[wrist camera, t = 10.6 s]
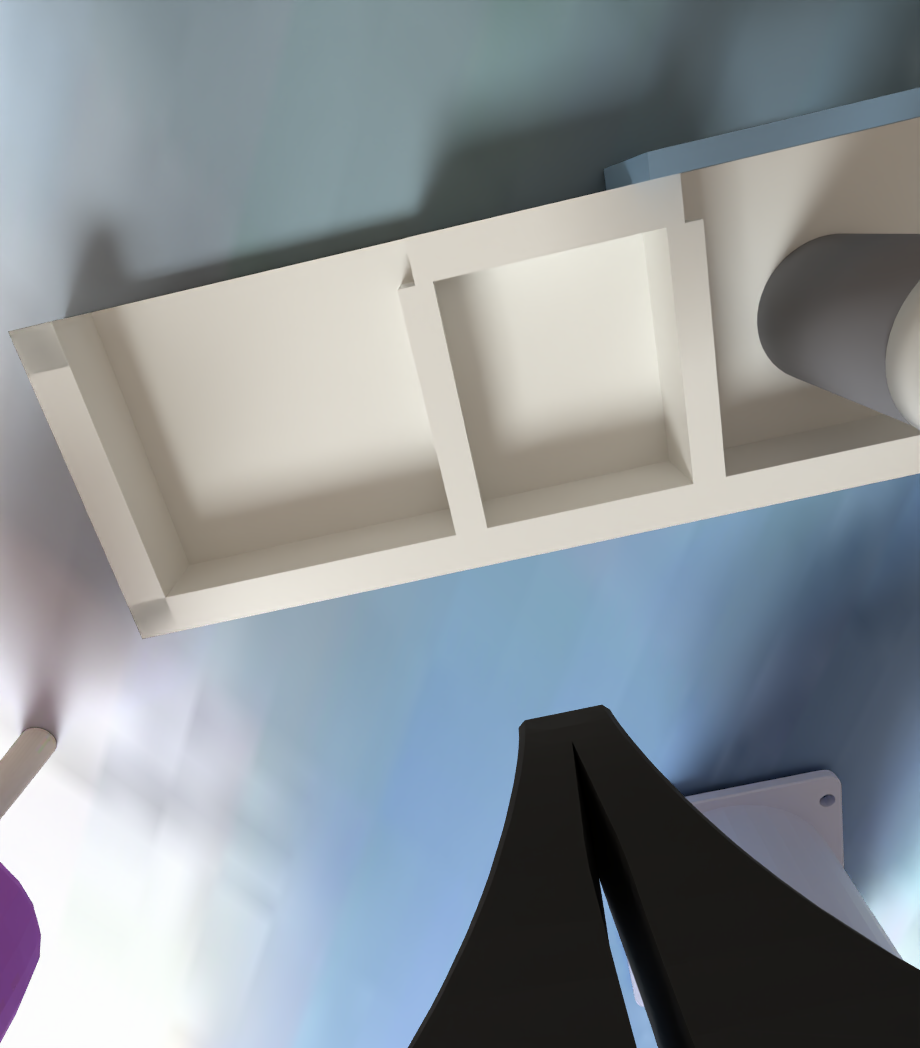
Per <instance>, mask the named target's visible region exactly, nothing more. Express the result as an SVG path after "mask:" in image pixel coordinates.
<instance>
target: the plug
mask: <svg viewBox="0 0 920 1048" xmlns="http://www.w3.org/2000/svg"><path fill="white" fill-rule="evenodd" d="M757 328H758V335H759V339H760V342H761V345H762V348H763V350H764V352H765V353H766V355H767V357H768V358H769V359H770V360H771V362H772V363H773V364H774V365H775V366H776V367H777V368H778V369H780V370H781V371H783V372H784V373H786V374H788V375H790V376H792V377H795V378H797V379H799V380H802V381H804V382H807V383H809V384H812V385H814V386H817V387H819V388H821V389H824V390H826V391H829V392H831V393H834V394H836V395H838V396H841V397H843V398H846V399H848V400H851V401H853V402H856V403H858V404H860V405H863V406H865V407H868V408H870V409H873V410H875V411H877V412H880V413H882V414H885V415H887V416H890V417H892V418H895V419H897V420H899V421H902V422H904V423H907V424H909V425H912V426H914V427H915V428H917V429H918V430H919V431H920V234H830V235H825V236H821V237H818V238H816V239H813V240H811V241H808V242H807V243H805V244H803V245H801V246H799V247H798V248H797V249H795V250H794V251H792V252H791V253H790V254H789V255H788V256H787V257H786V258H784V259H783V261H782V262H781V263H780V264H779V265H778V266H777V267H776V269H775V270H774V272H773V273H772V274H771V276H770V278H769V279H768V281H767V283H766V285H765V287H764V290H763V292H762V295H761V298H760V302H759V306H758V312H757Z"/></svg>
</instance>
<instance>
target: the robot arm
mask: <svg viewBox="0 0 920 1048" xmlns="http://www.w3.org/2000/svg"><path fill="white" fill-rule="evenodd" d="M827 794H828V795H827ZM825 795H827V796H826V797H824V798H822V797H823V796H825ZM599 879H600V881H599ZM600 882H601V885H602V888H603V891H604V893H605V896H606V899H607V902H608V905H609V908H610V911H611V913H612V916H613V919H614V922H615V925H616V928H617V930H618V933H619V936H620V939H621V942H622V945H623V947H624V950H625V953H626V956H627V961H628V966H629V971H630V976H631V982H632V987H633V992H634V996H635V1000H636V1002H637V1004H639V1005H640V1006H642V1007H645V1010H646V1012H647V1015H648V1018H649V1021H650V1024H651V1027H652V1030H653V1033H654V1036H655V1039H656V1043H657V1046H658V1048H920V970H919V969H917V968H915V967H914V966H912V965H910V964H908V963H907V962H905V961H903V959H902V958H901V956H900V955H899V953H898V952H897V950H896V948H895V947H894V945H893V944H892V942H891V941H890V939H889V938H888V936H887V935H886V933H885V931H884V930H883V928H882V927H881V925H880V924H879V922H878V921H877V919H876V918H875V916H874V915H873V913H872V911H871V910H870V908H869V907H868V905H867V904H866V902H865V901H864V899H863V898H862V896H861V895H860V893H859V891H858V890H857V888H856V887H855V885H854V884H853V882H852V881H851V879H850V878H849V876H848V875H847V873H846V871H845V870H844V854H843V822H842V789H841V782H840V780H839V779H838V777H837V776H836V775H835V774H834V773H833V772H832V771H829V770H819V771H814V772H809V773H804V774H799V775H794V776H788V777H783V778H778V779H773V780H768V781H763V782H758V783H753V784H748V785H742V786H737V787H732V788H727V789H722V790H717V791H712V792H707V793H702V794H696V795H691V796H686V797H684V796H683V795H682V794H681V793H680V792H679V791H678V790H677V789H676V788H675V787H674V785H673V784H672V783H671V782H670V781H669V780H668V779H667V778H666V777H665V776H664V775H663V774H662V773H661V772H660V771H659V770H658V769H657V768H656V767H655V766H654V765H653V764H652V762H651V761H650V760H649V759H648V758H647V757H646V756H645V755H644V753H643V752H642V751H641V750H640V749H639V748H638V746H637V745H636V744H635V743H634V742H633V740H632V739H631V738H630V737H629V736H628V734H627V733H626V732H625V730H624V729H623V728H622V727H621V725H620V724H619V722H618V721H617V720H616V718H615V717H614V715H613V714H612V712H611V711H610V709H608V708H606V707H605V706H603V705H598V706H593V707H588V708H583V709H578V710H574V711H569V712H564V713H559V714H554V715H549V716H544V717H539V718H534V719H529V720H525V721H524V722H523V723H522V724H521V726H520V727H519V750H518V760H517V767H516V773H515V779H514V785H513V789H512V794H511V798H510V803H509V807H508V811H507V816H506V820H505V824H504V828H503V831H502V835H501V838H500V841H499V845H498V848H497V851H496V854H495V858H494V861H493V864H492V867H491V871H490V874H489V877H488V880H487V882H486V885H485V888H484V891H483V894H482V896H481V899H480V901H479V904H478V907H477V909H476V912H475V914H474V917H473V919H472V921H471V924H470V926H469V929H468V931H467V934H466V936H465V938H464V940H463V942H462V945H461V947H460V949H459V951H458V953H457V955H456V958H455V960H454V962H453V964H452V966H451V968H450V971H449V973H448V975H447V977H446V979H445V981H444V983H443V985H442V987H441V989H440V991H439V993H438V995H437V997H436V999H435V1001H434V1003H433V1004H432V1006H431V1008H430V1010H429V1012H428V1013H427V1015H426V1017H425V1019H424V1020H423V1022H422V1024H421V1026H420V1027H419V1029H418V1031H417V1033H416V1034H415V1036H414V1038H413V1040H412V1041H411V1043H410V1045H409V1047H408V1048H637V1047H636V1044H635V1040H634V1036H633V1032H632V1029H631V1025H630V1021H629V1018H628V1014H627V1010H626V1006H625V1003H624V999H623V995H622V991H621V988H620V984H619V980H618V977H617V973H616V969H615V965H614V961H613V958H612V954H611V950H610V946H609V939H608V933H607V927H606V920H605V914H604V907H603V901H602V894H601V888H600Z"/></svg>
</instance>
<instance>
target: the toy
mask: <svg viewBox="0 0 920 1048" xmlns="http://www.w3.org/2000/svg"><path fill="white" fill-rule="evenodd" d="M55 749H56V740H55V738H54V737H53V736H52V734H50V733H49V732H48V731H46V730H44V729H41V728H30V729H27V730H25V731H24V732H23V733H22V734H21V735H20V736H19V738H18V739H17V740H16V741H15V743H14V744H13V745H12V746H11V748H10V749H9V750H8V752H7V753H6V754H5V756H4V757H3V758H2V760H1V761H0V819H1V818H2V816H3V815H4V814H5V813H6V811H7V810H8V809H9V808H10V806H11V805H12V804H13V803H14V802H15V800H16V799H17V798H18V797H19V795H20V794H21V793H22V792H23V790H24V789H25V788H26V787H27V785H28V784H29V783H30V782H31V780H32V779H33V778H34V777H35V775H36V774H37V773H38V772H39V770H40V769H41V768H42V766H43V765H44V764H45V763H46V761H47V760H48V759H49V757H50V756H51V755H52V753H53V752H54V751H55ZM40 940H41V934H40V929H39V925H38V921H37V918H36V914H35V910H34V907H33V904H32V902H31V900H30V899H29V897H28V895H27V894H26V892H25V890H24V889H23V887H22V885H21V884H20V882H19V881H18V880H17V879H16V878H15V877H14V876H13V875H12V874H11V873H10V872H9V871H8V870H7V869H6V868H5V867H4V866H3V865H2V863H1V862H0V1042H1V1040H2V1039H3V1037H4V1035H5V1033H6V1031H7V1029H8V1028H9V1026H10V1024H11V1022H12V1020H13V1018H14V1017H15V1015H16V1012H17V1010H18V1008H19V1005H20V1003H21V1001H22V998H23V996H24V994H25V991H26V989H27V986H28V984H29V982H30V979H31V977H32V974H33V972H34V970H35V967H36V965H37V962H38V960H39V957H40Z"/></svg>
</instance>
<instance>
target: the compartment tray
mask: <svg viewBox="0 0 920 1048" xmlns="http://www.w3.org/2000/svg"><path fill="white" fill-rule="evenodd" d="M916 117H918V118H916ZM912 118H914V119H912ZM907 119H910V120H907ZM903 120H906V121H903ZM899 121H901V122H899ZM895 122H897V123H895ZM890 123H893V124H890ZM886 124H889V125H886ZM882 125H884V126H882ZM878 126H880V127H878ZM873 127H876V128H873ZM869 128H872V129H869ZM865 129H867V130H865ZM861 130H863V131H861ZM856 131H859V132H856ZM852 132H855V133H852ZM848 133H850V134H848ZM844 134H846V135H844ZM839 135H842V136H839ZM835 136H838V137H835ZM831 137H833V138H831ZM827 138H829V139H827ZM822 139H825V140H822ZM818 140H821V141H818ZM814 141H816V142H814ZM810 142H812V143H810ZM805 143H808V144H805ZM801 144H804V145H801ZM797 145H799V146H797ZM793 146H795V147H793ZM789 147H791V148H789ZM784 148H787V149H784ZM780 149H782V150H780ZM776 150H778V151H776ZM772 151H774V152H772ZM767 152H770V153H767ZM763 153H766V154H763ZM759 154H761V155H759ZM755 155H757V156H755ZM750 156H753V157H750ZM746 157H749V158H746ZM742 158H744V159H742ZM738 159H740V160H738ZM733 160H736V161H733ZM729 161H732V162H729ZM725 162H727V163H725ZM721 163H723V164H721ZM716 164H719V165H716ZM712 165H715V166H712ZM708 166H710V167H708ZM704 167H706V168H704ZM699 168H702V169H699ZM695 169H698V170H695ZM691 170H693V171H691ZM687 171H689V172H687ZM683 172H685V173H683ZM680 173H681V174H680ZM604 176H605V184H606V191H602V192H598V193H594V194H590V195H585V196H581V197H577V198H573V199H569V200H564V201H560V202H556V203H552V204H547V205H543V206H539V207H535V208H530V209H526V210H522V211H518V212H513V213H509V214H505V215H501V216H496V217H492V218H488V219H484V220H479V221H475V222H471V223H467V224H462V225H458V226H454V227H450V228H445V229H441V230H437V231H433V232H429V233H424V234H420V235H416V236H412V237H407V238H404V239H401V240H396V241H392V242H388V243H384V244H379V245H375V246H371V247H367V248H362V249H358V250H354V251H350V252H345V253H341V254H337V255H333V256H328V257H324V258H320V259H316V260H311V261H307V262H303V263H299V264H295V265H290V266H286V267H282V268H278V269H273V270H269V271H265V272H261V273H256V274H252V275H248V276H244V277H239V278H235V279H231V280H227V281H222V282H218V283H214V284H210V285H205V286H201V287H197V288H193V289H188V290H184V291H180V292H176V293H171V294H167V295H163V296H159V297H154V298H150V299H146V300H142V301H138V302H133V303H129V304H125V305H121V306H116V307H112V308H108V309H104V310H99V311H95V312H91V313H86V314H82V315H78V316H73V317H69V318H64V319H60V320H55V321H51V322H47V323H42V324H38V325H34V326H30V327H25V328H21V329H17V330H13V331H8V332H9V335H10V337H11V339H12V342H13V344H14V346H15V348H16V351H17V353H18V355H19V358H20V360H21V362H22V364H23V367H24V369H25V371H26V374H27V376H28V378H29V380H30V383H31V385H32V387H33V390H34V392H35V394H36V397H37V399H38V401H39V403H40V406H41V408H42V410H43V413H44V415H45V417H46V419H47V422H48V424H49V426H50V429H51V431H52V433H53V435H54V438H55V440H56V442H57V445H58V447H59V449H60V451H61V454H62V456H63V458H64V461H65V463H66V465H67V467H68V470H69V472H70V474H71V477H72V479H73V481H74V484H75V486H76V488H77V490H78V493H79V495H80V497H81V500H82V502H83V504H84V506H85V509H86V511H87V513H88V516H89V518H90V520H91V522H92V525H93V527H94V529H95V532H96V534H97V536H98V538H99V541H100V543H101V545H102V548H103V550H104V552H105V554H106V557H107V559H108V561H109V564H110V566H111V568H112V570H113V573H114V575H115V577H116V580H117V582H118V584H119V587H120V589H121V591H122V593H123V596H124V598H125V600H126V603H127V605H128V607H129V609H130V612H131V614H132V616H133V619H134V621H135V623H136V625H137V628H138V630H139V632H140V635H141V637H142V639H145V638H149V637H154V636H159V635H164V634H168V633H173V632H178V631H182V630H187V629H192V628H196V627H201V626H206V625H210V624H215V623H220V622H225V621H229V620H234V619H239V618H243V617H248V616H253V615H257V614H262V613H267V612H271V611H276V610H281V609H285V608H290V607H295V606H300V605H304V604H309V603H314V602H318V601H323V600H328V599H332V598H337V597H342V596H346V595H351V594H356V593H361V592H365V591H370V590H375V589H379V588H384V587H389V586H393V585H398V584H403V583H407V582H412V581H417V580H422V579H426V578H431V577H436V576H440V575H445V574H450V573H454V572H459V571H464V570H468V569H473V568H478V567H482V566H487V565H492V564H497V563H501V562H506V561H511V560H515V559H520V558H525V557H529V556H534V555H539V554H543V553H548V552H553V551H558V550H562V549H567V548H572V547H576V546H581V545H586V544H590V543H595V542H600V541H604V540H609V539H614V538H618V537H623V536H628V535H633V534H637V533H642V532H647V531H651V530H656V529H661V528H665V527H670V526H675V525H679V524H684V523H689V522H694V521H698V520H703V519H708V518H712V517H717V516H722V515H726V514H731V513H736V512H740V511H745V510H750V509H754V508H759V507H764V506H769V505H773V504H778V503H783V502H787V501H792V500H797V499H801V498H806V497H811V496H815V495H820V494H825V493H830V492H834V491H839V490H844V489H848V488H853V487H858V486H862V485H867V484H872V483H876V482H881V481H886V480H891V479H895V478H900V477H905V476H909V475H914V474H919V473H920V431H919V430H918V429H917V428H915V427H914V426H912V425H909V424H907V423H904V422H902V421H899V420H897V419H895V418H892V417H890V416H887V415H885V414H882V413H880V412H877V411H875V410H873V409H870V408H868V407H865V406H863V405H860V404H858V403H856V402H853V401H851V400H848V399H846V398H843V397H841V396H838V395H836V394H834V393H831V392H829V391H826V390H824V389H821V388H819V387H817V386H814V385H812V384H809V383H807V382H804V381H802V380H799V379H797V378H795V377H792V376H790V375H788V374H786V373H784V372H783V371H781V370H780V369H778V368H777V367H776V366H775V365H774V364H773V363H772V362H771V360H770V359H769V358H768V357H767V355H766V353H765V352H764V350H763V348H762V345H761V342H760V339H759V335H758V328H757V312H758V306H759V302H760V298H761V295H762V292H763V290H764V287H765V285H766V283H767V281H768V279H769V278H770V276H771V274H772V273H773V272H774V270H775V269H776V267H777V266H778V265H779V264H780V263H781V262H782V261H783V259H784V258H786V257H787V256H788V255H789V254H790V253H791V252H792V251H794V250H795V249H797V248H798V247H799V246H801V245H803V244H805V243H807V242H808V241H811V240H813V239H816V238H818V237H821V236H825V235H830V234H920V87H919V88H915V89H910V90H906V91H902V92H898V93H894V94H889V95H885V96H881V97H877V98H872V99H868V100H864V101H860V102H856V103H851V104H847V105H843V106H839V107H835V108H830V109H826V110H822V111H818V112H814V113H809V114H805V115H801V116H797V117H793V118H788V119H784V120H780V121H776V122H771V123H767V124H763V125H759V126H755V127H750V128H746V129H742V130H738V131H734V132H729V133H725V134H721V135H717V136H713V137H708V138H704V139H700V140H696V141H691V142H687V143H683V144H679V145H675V146H670V147H666V148H662V149H658V150H654V151H649V152H646V153H643V154H641V155H638V156H636V157H633V158H631V159H628V160H625V161H623V162H620V163H618V164H615V165H613V166H610V167H607V168H605V169H604Z"/></svg>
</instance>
